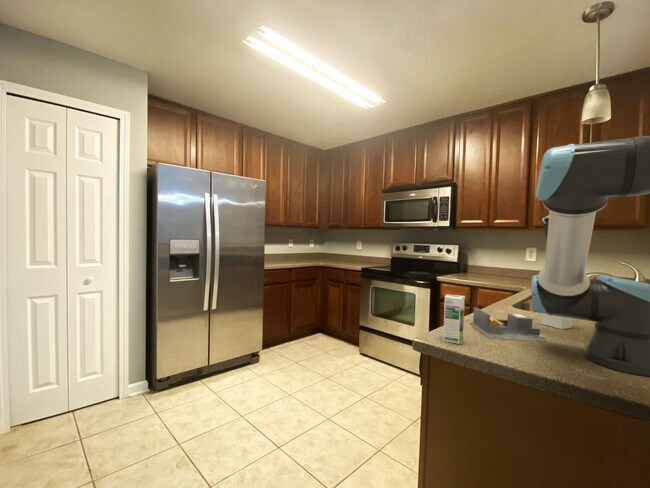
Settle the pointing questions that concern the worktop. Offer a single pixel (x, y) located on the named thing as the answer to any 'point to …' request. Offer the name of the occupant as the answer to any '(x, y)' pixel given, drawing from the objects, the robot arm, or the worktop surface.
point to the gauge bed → (503, 329)
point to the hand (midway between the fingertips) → (559, 265)
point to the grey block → (519, 321)
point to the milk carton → (556, 321)
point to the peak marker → (494, 322)
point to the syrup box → (453, 319)
